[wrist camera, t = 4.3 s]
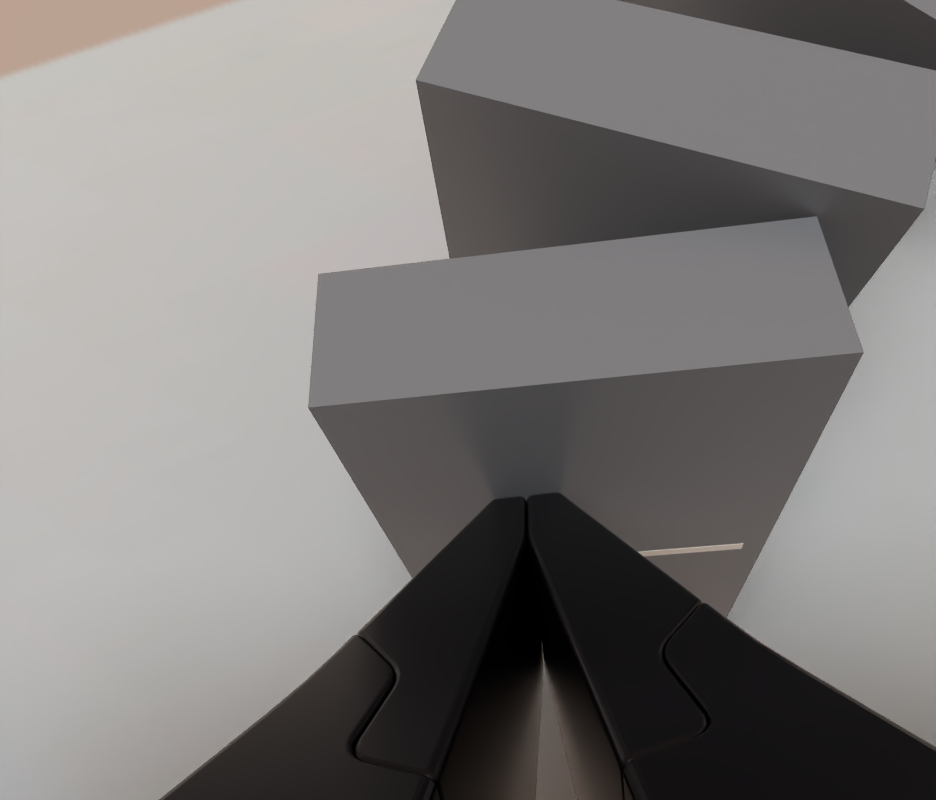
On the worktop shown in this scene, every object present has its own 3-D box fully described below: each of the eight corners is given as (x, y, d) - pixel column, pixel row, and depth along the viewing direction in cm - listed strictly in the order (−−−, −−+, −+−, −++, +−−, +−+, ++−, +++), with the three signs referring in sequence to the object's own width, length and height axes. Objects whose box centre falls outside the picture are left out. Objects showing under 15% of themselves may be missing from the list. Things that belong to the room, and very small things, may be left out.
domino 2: (706, 491, 17) (924, 209, 7) (479, 414, 18) (415, 80, 8) (727, 421, 17) (955, 73, 8) (505, 350, 18) (471, -32, 9)
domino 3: (715, 638, 16) (863, 351, 7) (459, 655, 16) (308, 407, 8) (700, 558, 16) (817, 215, 8) (457, 577, 17) (318, 273, 8)
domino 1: (758, 365, 17) (995, 55, 8) (582, 228, 19) (597, -184, 9) (806, 312, 17) (1096, -56, 8) (628, 180, 19) (692, -275, 9)
